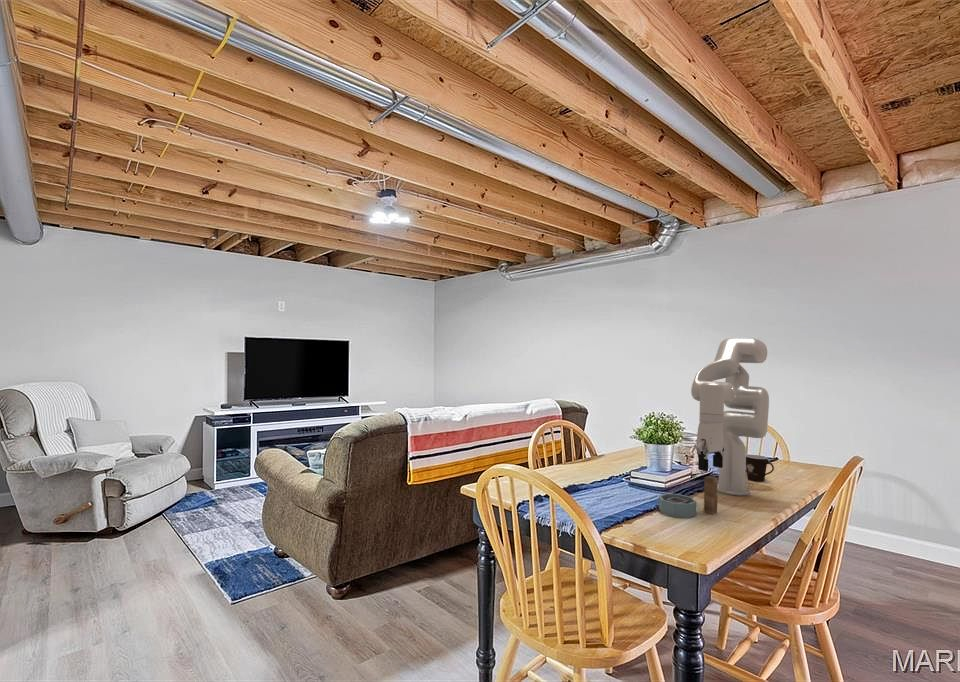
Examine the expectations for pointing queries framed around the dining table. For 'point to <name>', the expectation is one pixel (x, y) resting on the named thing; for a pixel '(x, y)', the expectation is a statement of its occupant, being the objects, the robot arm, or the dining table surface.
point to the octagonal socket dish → (677, 505)
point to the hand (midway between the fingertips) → (710, 468)
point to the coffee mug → (757, 467)
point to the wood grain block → (710, 495)
